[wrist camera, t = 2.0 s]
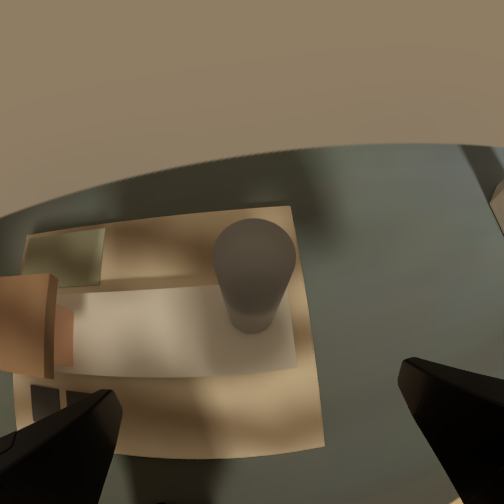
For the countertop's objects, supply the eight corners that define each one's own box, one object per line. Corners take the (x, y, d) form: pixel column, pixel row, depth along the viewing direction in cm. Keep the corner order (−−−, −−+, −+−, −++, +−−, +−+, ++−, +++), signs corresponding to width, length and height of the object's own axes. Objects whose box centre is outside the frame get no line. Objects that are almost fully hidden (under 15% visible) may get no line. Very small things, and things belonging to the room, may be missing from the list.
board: (321, 443, 17) (325, 446, 16) (24, 430, 16) (16, 430, 15) (288, 212, 25) (290, 204, 24) (32, 239, 23) (26, 234, 22)
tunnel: (98, 382, 18) (44, 378, 12) (20, 372, 17) (-36, 361, 11) (98, 303, 20) (49, 273, 14) (22, 305, 20) (-29, 279, 14)
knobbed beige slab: (294, 368, 18) (340, 358, 9) (37, 369, 17) (-58, 347, 8) (283, 283, 21) (311, 203, 12) (40, 298, 20) (-44, 248, 11)
